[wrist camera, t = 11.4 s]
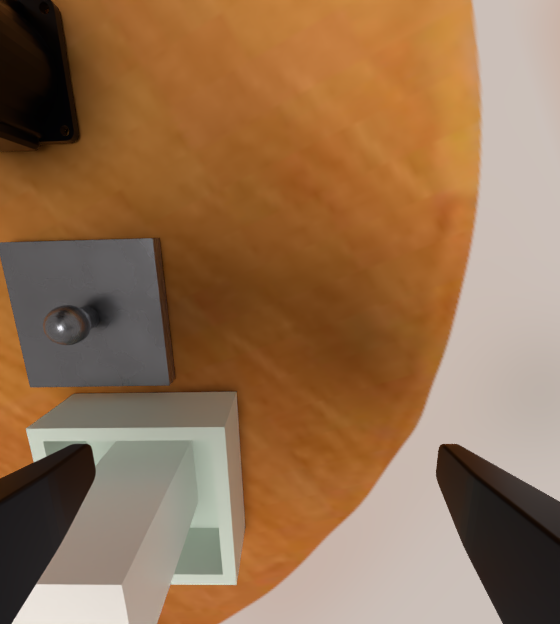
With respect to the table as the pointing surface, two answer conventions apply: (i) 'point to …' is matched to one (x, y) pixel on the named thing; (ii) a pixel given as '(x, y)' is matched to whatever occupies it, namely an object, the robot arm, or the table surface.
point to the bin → (160, 427)
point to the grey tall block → (121, 539)
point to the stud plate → (90, 311)
